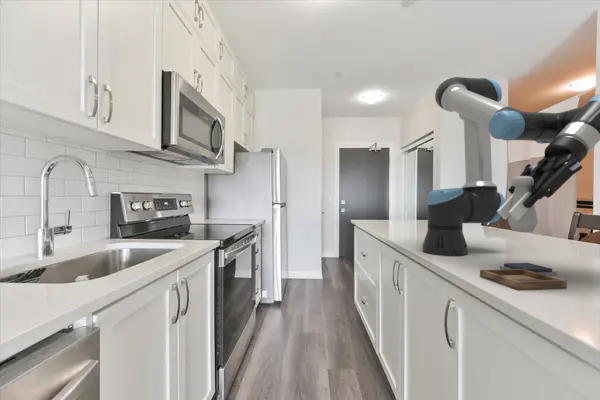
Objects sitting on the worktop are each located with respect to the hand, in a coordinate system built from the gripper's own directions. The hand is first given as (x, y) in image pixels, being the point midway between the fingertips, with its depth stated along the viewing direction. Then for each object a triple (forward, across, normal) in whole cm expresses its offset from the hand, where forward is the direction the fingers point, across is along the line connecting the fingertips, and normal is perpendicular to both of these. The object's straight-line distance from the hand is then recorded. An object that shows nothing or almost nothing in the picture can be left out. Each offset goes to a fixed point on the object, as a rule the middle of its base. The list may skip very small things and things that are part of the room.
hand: (507, 215), depth 76 cm
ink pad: (+1, +10, -22) cm, 24 cm away
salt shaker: (0, 0, -6) cm, 6 cm away
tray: (+9, 0, -14) cm, 16 cm away
